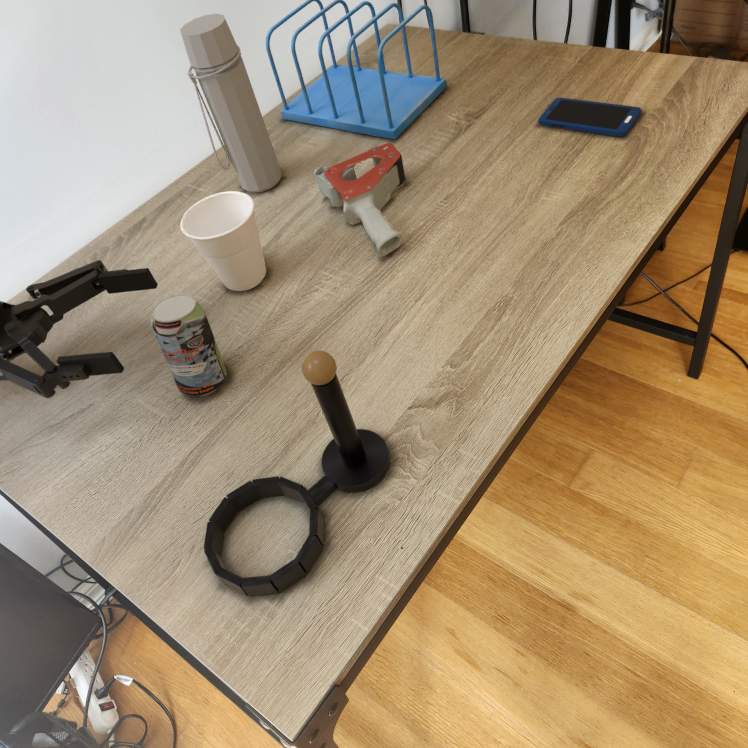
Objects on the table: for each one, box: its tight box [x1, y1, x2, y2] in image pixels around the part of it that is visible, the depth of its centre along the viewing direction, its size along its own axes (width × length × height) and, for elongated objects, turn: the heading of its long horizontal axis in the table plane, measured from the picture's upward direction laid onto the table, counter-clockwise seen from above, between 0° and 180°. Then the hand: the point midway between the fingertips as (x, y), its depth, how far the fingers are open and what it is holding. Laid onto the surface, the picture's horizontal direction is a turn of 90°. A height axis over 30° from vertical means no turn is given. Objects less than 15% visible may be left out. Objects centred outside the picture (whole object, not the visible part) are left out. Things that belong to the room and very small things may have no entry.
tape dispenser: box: [313, 141, 406, 257], centre depth 94 cm, size 18×5×20 cm
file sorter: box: [265, 0, 447, 140], centre depth 111 cm, size 25×17×15 cm
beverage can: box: [150, 294, 228, 397], centre depth 75 cm, size 6×7×12 cm
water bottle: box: [179, 13, 283, 194], centre depth 97 cm, size 9×8×25 cm
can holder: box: [203, 350, 391, 598], centre depth 59 cm, size 13×20×17 cm, turn 152°
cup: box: [180, 190, 267, 292], centre depth 87 cm, size 10×10×11 cm
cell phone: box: [537, 97, 642, 138], centre depth 100 cm, size 7×14×1 cm, turn 56°
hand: (136, 317), depth 75 cm, fingers open, 13 cm apart
